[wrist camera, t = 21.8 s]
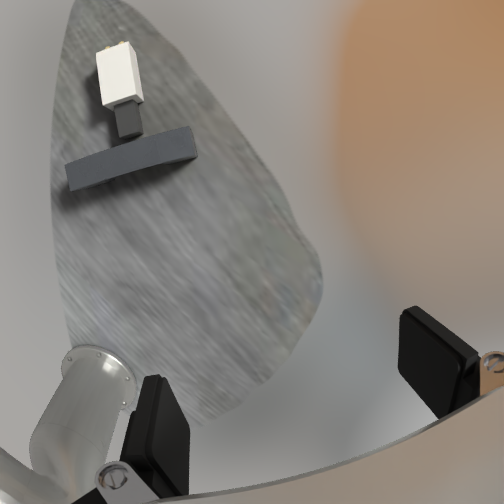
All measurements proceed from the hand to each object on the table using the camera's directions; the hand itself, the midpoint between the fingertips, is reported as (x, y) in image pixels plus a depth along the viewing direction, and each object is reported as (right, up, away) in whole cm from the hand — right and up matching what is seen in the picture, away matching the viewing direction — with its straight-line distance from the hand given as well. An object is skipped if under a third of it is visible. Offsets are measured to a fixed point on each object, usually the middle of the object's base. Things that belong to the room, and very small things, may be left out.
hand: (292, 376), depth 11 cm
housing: (-15, +16, +23) cm, 32 cm away
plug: (-17, +24, +21) cm, 36 cm away
